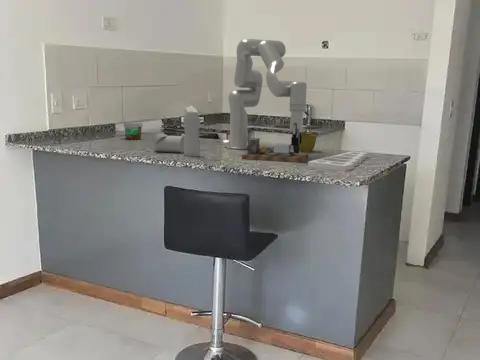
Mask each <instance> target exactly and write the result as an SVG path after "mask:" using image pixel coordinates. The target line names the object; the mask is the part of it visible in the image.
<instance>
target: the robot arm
mask: <svg viewBox="0 0 480 360" xmlns="http://www.w3.org/2000/svg"><path fill="white" fill-rule="evenodd" d="M286 51H287V50H286V46H285V44H284V42H283V41H281V40H272V39H271V40H269V39H258V38H257V39H256V38H245V39H241V40H240V41H239V42H238V44H237V46H236V63H235V64H236V65H235V72H234V76H233V77H234V79H233V82H234V85H235V86H236V87H237V88H241V89H234V90H231V91H230V93H229V94H228V104H229V139H223V140H222V144H225V145H227V146H226V148H227V149H233V150H246V149H247V146H248V126H249V125H248V124H249V123H248V121H249V119H248V113H247V111H246V110H247V109H246V108H254V107H257V106H258V105H259V103H260V100H261V99H260V98H261V93H262V87H263V81H264V79H263V74H262V72H260V71H259V70H257V69H253V58H252V57H260V58H261V59H262V61H263V64H264V65H265V67H266V69H267V72H266V75H265V80H266V85H267V88H268V90H269V91H270V92H271V94H272V95H273V96H274V97H276V98H277V97H278V98H289V112H290V121H289V122H290V123H289V133H291V142H290V144H291V147H293V146H298V133H300V144H301V141H302V134H303V133H302V132H303V128H304V126H303V125H304V113H306V110H307V109H306V108H307V107H306V106H307V89H308V88H307V83H306V82H304V81H294V80H279V79H278V76H277V74H276V73H279V72H280V71H281V70H282V69H283V68H284V66H285V62H284V60H283V57H285V54H286ZM251 56H252V57H251ZM243 88H245V89H243ZM246 88H247V89H246ZM296 133H297V134H296Z"/></svg>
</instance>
